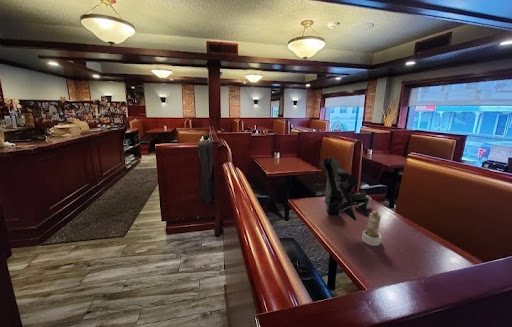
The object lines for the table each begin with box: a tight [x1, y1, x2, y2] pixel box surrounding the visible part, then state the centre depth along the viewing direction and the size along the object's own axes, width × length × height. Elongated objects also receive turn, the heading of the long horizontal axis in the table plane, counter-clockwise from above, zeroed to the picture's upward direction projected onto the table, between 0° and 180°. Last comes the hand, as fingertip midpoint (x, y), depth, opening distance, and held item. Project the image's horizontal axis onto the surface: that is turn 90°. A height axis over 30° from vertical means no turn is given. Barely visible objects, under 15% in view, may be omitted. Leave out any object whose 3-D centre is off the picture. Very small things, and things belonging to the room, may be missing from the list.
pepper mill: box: [366, 210, 381, 238], centre depth 115 cm, size 5×5×16 cm
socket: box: [361, 229, 382, 247], centre depth 117 cm, size 8×8×4 cm
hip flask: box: [324, 179, 346, 204], centre depth 161 cm, size 16×4×20 cm, turn 95°
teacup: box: [354, 194, 372, 210], centre depth 154 cm, size 14×11×8 cm
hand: (361, 218), depth 121 cm, fingers open, 9 cm apart
